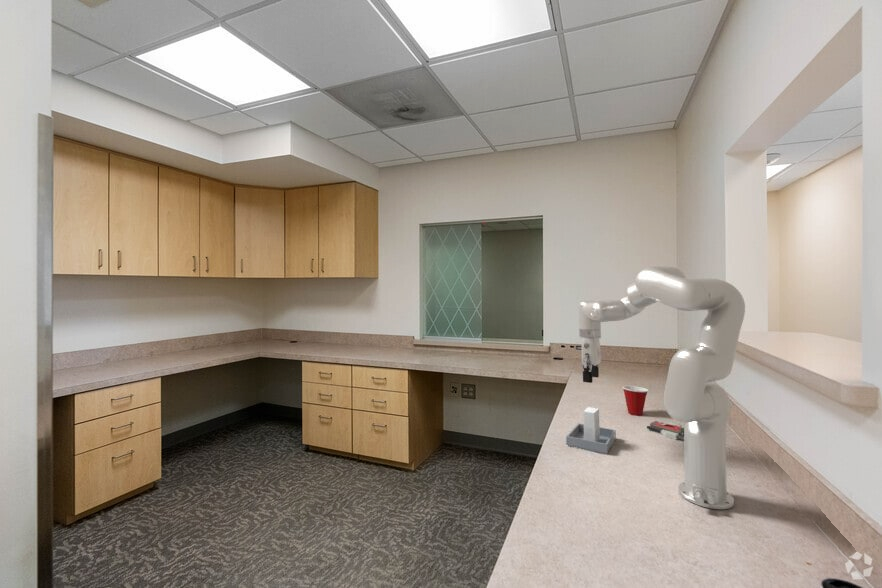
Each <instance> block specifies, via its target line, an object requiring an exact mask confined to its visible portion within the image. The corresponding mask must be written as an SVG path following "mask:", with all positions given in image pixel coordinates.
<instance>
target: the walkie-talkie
mask: <svg viewBox="0 0 882 588" xmlns="http://www.w3.org/2000/svg"><path fill="white" fill-rule="evenodd" d="M684 428H685V427H682V425H681V424H679V423H674V422H670V421H669V422H667V423H666V422H664V421H663V420H662V421H657V420H654V421H653V422H651V423H649V425H647V426H646V429H647V430H650V431H651V432H654V433H657V434H660V435H662V436H663V437H665V438H669V439H671V440H675V441H677V440H680V441H681V440H682V441H684Z"/></svg>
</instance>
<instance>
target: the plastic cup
mask: <svg viewBox="0 0 882 588" xmlns="http://www.w3.org/2000/svg"><path fill="white" fill-rule="evenodd" d="M622 390H623V392H624V393H623V394H624V397H625V398H624V399H625V404H626V408H627V413H628V415H631V416H637V417H638V416H643V413H644V408H645V403H646V400H647V399H646V398H647V395H648V392H649V391H650V390H649V389H648V388H645V387H641V386H636V385H623V386H622Z"/></svg>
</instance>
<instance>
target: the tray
mask: <svg viewBox="0 0 882 588" xmlns="http://www.w3.org/2000/svg"><path fill="white" fill-rule="evenodd" d="M599 427H600V426H599ZM565 438H566V439H565V440H566V441H565V442H566V445H568V446H567V447H569V446H572V447H571V448H574V447H577V448H576V449H579V448H581V449H580V450H583V449H584V451H589V452H594V453H598V454H603V455H607V456H608V454H609V452H610V450H611V449H612V447H613V445H614V443H615V442H616V439H617V431H616V429H612V428H605V427H600V440H599V441H598V442H595V441H590V440H585V439H584V423H577V424H576V425H575V426H574V428H572V429H571V430H570V431H569V433H568V434H567V435H566V437H565Z"/></svg>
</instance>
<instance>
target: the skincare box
mask: <svg viewBox="0 0 882 588" xmlns="http://www.w3.org/2000/svg"><path fill="white" fill-rule="evenodd" d="M583 424H584V439H585V440H590V441H595V442H598V441H599V440H600V408H597V407H596V408H595V407H590V406H587V407H586V408H585V409H584V410H583Z"/></svg>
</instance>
